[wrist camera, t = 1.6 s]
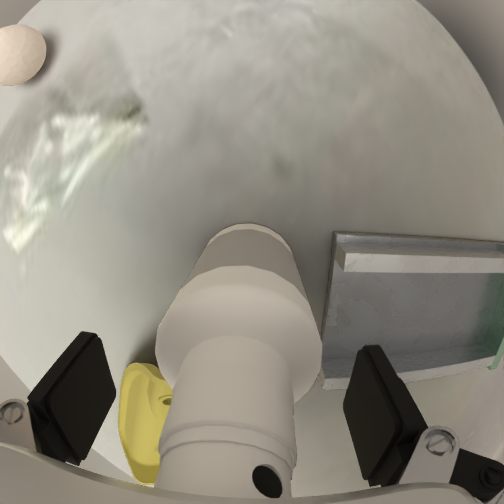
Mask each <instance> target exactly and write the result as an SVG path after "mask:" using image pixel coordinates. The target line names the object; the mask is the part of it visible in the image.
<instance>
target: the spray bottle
mask: <svg viewBox="0 0 504 504" xmlns="http://www.w3.org/2000/svg"><path fill="white" fill-rule="evenodd" d="M155 355H156V358H157V362H158V366H159V369H160V373H161V374H162V376H163V377H164V378H165V380H166V381H167V383H168V384H169V386H170V387H171V389H172V390H173V393H172V399H171V405H170V408H169V411H168V414H167V417H166V420H165V423H164V426H163V429H162V432H161V435H160V438H159V445H158V452H159V454H160V461H159V466H160V468H159V472H158V475H157V479H156V482H155V486H154V488H157V489H163V490H168V491H175V492H181V493H188V494H196V495H205V496H216V497H231V498H292V497H291V482H290V481H291V480H292V473H293V469H294V467H295V466H296V461H297V449H296V439H295V430H294V420H293V415H294V403H296V402H297V401H298V400H299V399H300V398H301V397H302V396H303V395H304V394H305V393H306V392H308V391H309V390H310V389H311V387H312V385H313V383H314V381H315V379H316V377H317V375H318V373H319V371H320V368H321V357H322V342H321V339H320V335H319V332H318V329H317V326H316V323H315V320H314V317H313V314H312V311H311V307H310V304H309V301H308V298H307V295H306V292H305V289H304V286H303V283H302V280H301V277H300V274H299V272H298V269H297V266H296V263H295V260H294V257H293V254H292V252H291V249H290V247H289V246H288V244H287V243H286V242H285V241H284V239H283V238H282V237H281V236H280V235H279V234H277V233H275V232H274V231H272V230H271V229H269V228H268V227H264V226H260V225H256V224H253V223H251V224H236V225H233V226H231V227H228V228H225V229H223V230H221V231H220V232H219V233H218V234H216V235H215V236H214V237H213V238H212V239H210V241H209V243H208V244H207V246H206V247H205V249H204V251H203V252H202V254H201V256H200V257H199V259H198V260H197V262H196V264H195V265H194V267H193V269H192V270H191V272H190V274H189V275H188V277H187V279H186V280H185V282H184V283H183V285H182V287H181V289H180V290H179V292H178V294H177V295H176V297H175V299H174V300H173V302H172V304H171V305H170V307H169V309H168V311H167V312H166V314H165V316H164V317H163V319H162V321H161V323H160V324H159V326H158V329H157V337H156V346H155Z"/></svg>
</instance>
